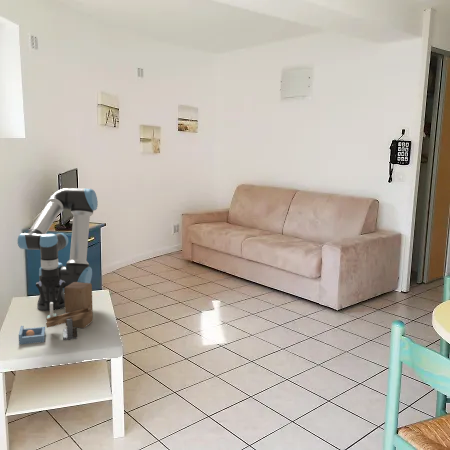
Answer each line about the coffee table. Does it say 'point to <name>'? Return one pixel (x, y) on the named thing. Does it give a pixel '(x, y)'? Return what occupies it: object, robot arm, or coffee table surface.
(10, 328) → the coffee table surface
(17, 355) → the coffee table surface
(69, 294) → the wooden block
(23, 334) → the blue square tray
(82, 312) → the lever
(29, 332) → the ball
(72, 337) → the fulcrum
